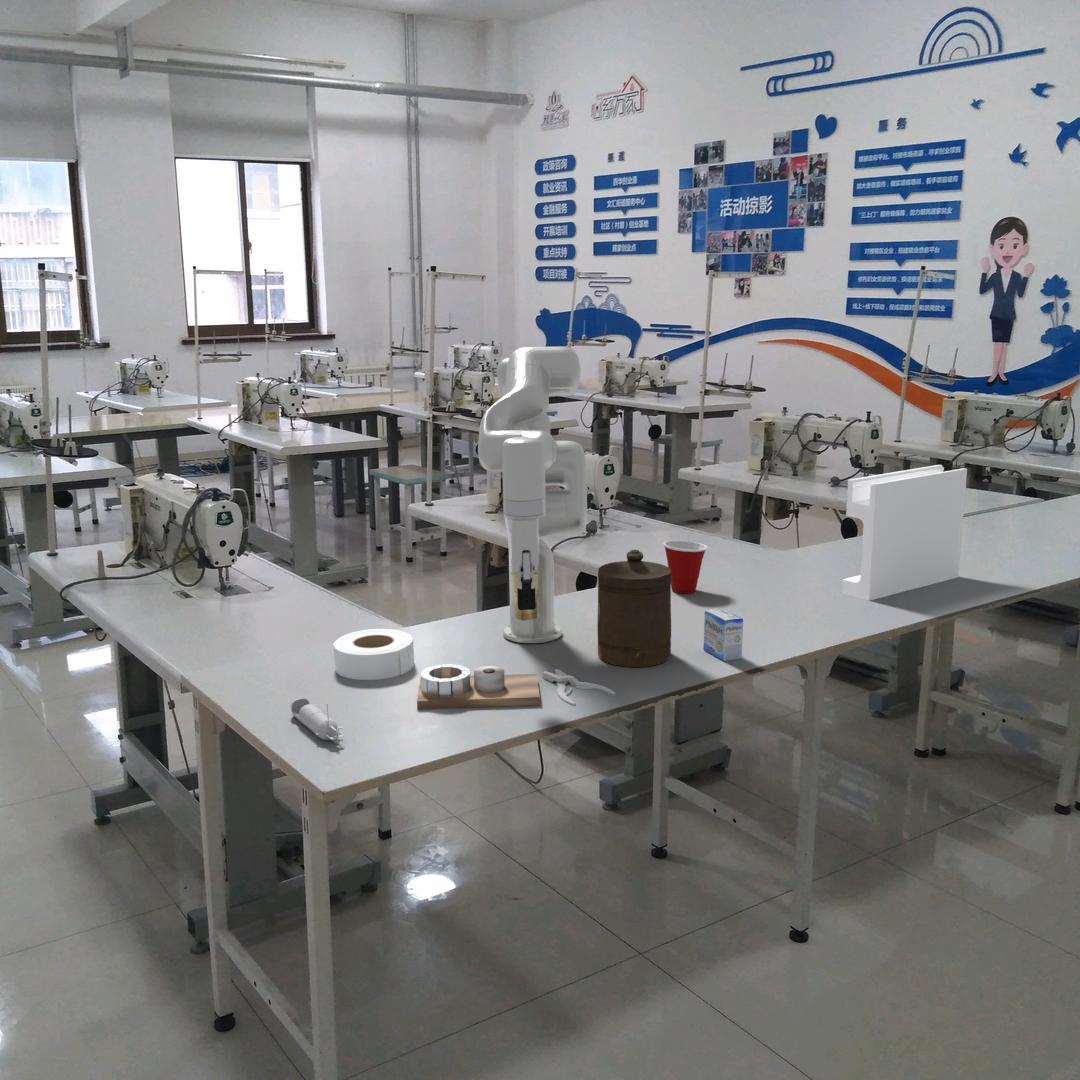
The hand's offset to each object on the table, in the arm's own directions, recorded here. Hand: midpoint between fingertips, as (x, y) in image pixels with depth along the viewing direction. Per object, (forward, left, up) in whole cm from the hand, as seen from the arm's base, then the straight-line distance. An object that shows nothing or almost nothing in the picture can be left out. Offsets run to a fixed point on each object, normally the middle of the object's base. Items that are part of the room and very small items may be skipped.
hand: (526, 603), depth 194 cm
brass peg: (0, 0, -2) cm, 2 cm away
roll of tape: (-17, -30, -18) cm, 38 cm away
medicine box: (-18, +40, -17) cm, 47 cm away
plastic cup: (-65, +41, -17) cm, 79 cm away
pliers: (-2, +8, -18) cm, 20 cm away
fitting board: (0, -9, -17) cm, 19 cm away
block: (-65, +96, -17) cm, 117 cm away
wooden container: (-19, +22, -17) cm, 34 cm away
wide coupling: (0, -15, -16) cm, 22 cm away
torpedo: (+14, -37, -18) cm, 43 cm away
